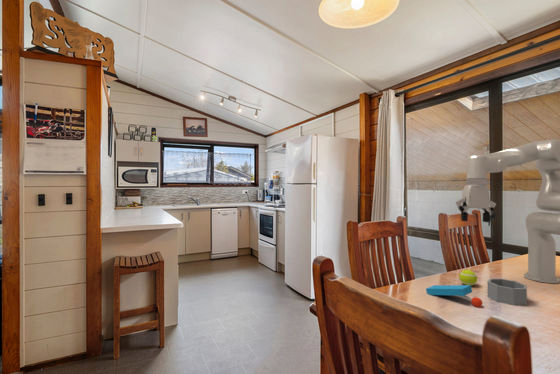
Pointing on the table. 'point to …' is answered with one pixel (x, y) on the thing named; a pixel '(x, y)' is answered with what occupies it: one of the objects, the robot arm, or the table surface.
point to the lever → (454, 292)
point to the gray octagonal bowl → (507, 291)
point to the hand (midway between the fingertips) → (475, 221)
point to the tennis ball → (468, 277)
